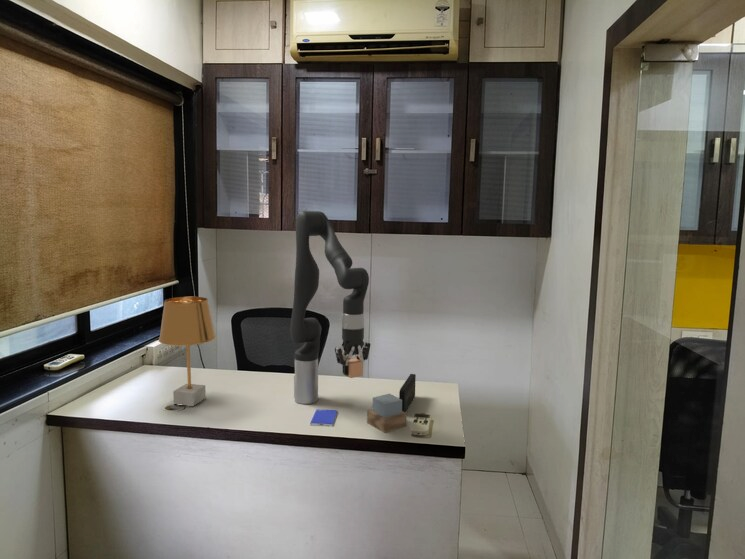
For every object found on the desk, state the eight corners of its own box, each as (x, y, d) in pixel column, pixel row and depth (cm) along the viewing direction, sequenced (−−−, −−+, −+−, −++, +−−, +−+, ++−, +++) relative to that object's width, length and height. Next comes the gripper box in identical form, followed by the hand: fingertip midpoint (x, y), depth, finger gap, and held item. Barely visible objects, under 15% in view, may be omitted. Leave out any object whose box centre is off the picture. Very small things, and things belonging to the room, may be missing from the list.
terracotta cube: (342, 374, 180) (342, 360, 179) (354, 371, 183) (354, 358, 182) (350, 378, 176) (351, 363, 175) (362, 375, 179) (362, 361, 178)
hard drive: (316, 409, 194) (310, 422, 182) (337, 409, 194) (332, 423, 182) (316, 413, 195) (310, 426, 182) (337, 413, 194) (332, 427, 182)
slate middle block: (372, 410, 184) (372, 397, 183) (389, 406, 188) (389, 393, 187) (384, 418, 178) (384, 404, 177) (401, 413, 182) (402, 400, 181)
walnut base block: (367, 423, 185) (367, 410, 184) (388, 417, 191) (388, 404, 190) (384, 433, 177) (384, 419, 176) (406, 426, 183) (406, 413, 182)
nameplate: (403, 416, 191) (404, 390, 190) (398, 415, 192) (399, 390, 191) (415, 397, 211) (415, 373, 210) (410, 396, 212) (411, 373, 211)
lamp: (181, 390, 215) (177, 294, 209) (227, 394, 210) (224, 296, 205) (149, 409, 194) (145, 303, 189) (200, 414, 190) (196, 306, 185)
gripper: (363, 321, 184) (362, 367, 186) (329, 326, 175) (329, 374, 178) (376, 325, 178) (375, 372, 180) (342, 330, 169) (341, 380, 172)
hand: (352, 373), depth 179 cm, fingers closed on terracotta cube, 5 cm apart
